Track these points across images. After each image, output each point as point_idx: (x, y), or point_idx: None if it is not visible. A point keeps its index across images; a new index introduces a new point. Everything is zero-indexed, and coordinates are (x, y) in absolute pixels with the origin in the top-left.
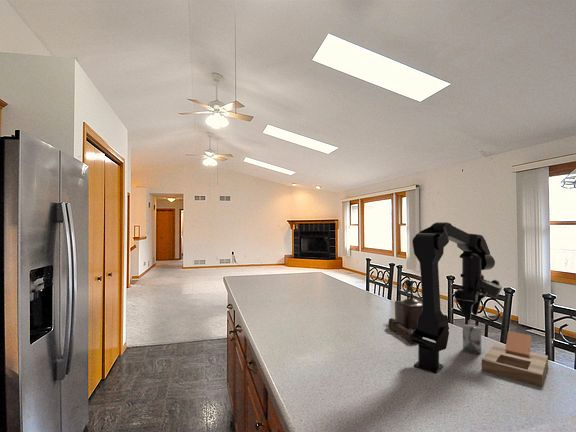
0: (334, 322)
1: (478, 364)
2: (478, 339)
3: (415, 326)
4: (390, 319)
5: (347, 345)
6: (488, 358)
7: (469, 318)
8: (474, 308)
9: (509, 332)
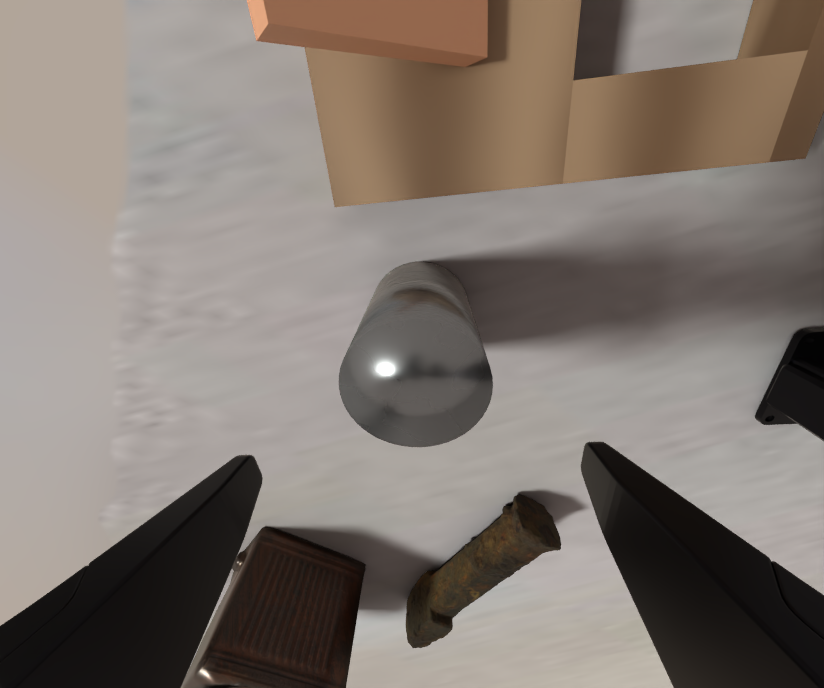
0: (504, 683)
1: (637, 209)
2: (448, 296)
3: (329, 562)
4: (429, 643)
5: None
6: (747, 125)
7: (624, 460)
8: (211, 548)
9: (284, 2)
